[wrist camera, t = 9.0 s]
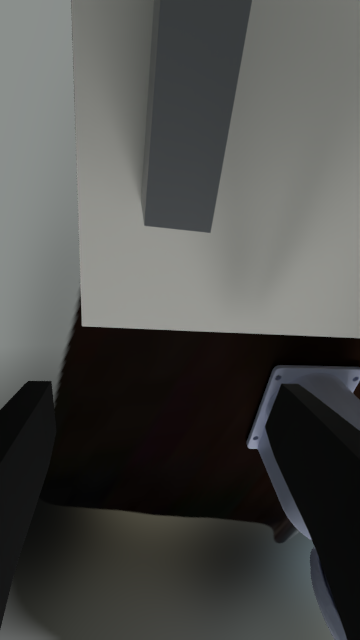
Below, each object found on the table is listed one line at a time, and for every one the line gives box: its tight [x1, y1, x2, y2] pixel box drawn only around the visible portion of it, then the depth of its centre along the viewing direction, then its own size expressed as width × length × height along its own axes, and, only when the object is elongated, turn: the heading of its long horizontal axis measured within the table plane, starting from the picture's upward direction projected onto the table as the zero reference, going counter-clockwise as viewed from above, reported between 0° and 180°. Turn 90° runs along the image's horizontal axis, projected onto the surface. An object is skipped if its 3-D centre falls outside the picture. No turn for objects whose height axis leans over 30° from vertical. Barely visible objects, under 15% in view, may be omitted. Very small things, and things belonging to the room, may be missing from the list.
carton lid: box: [71, 0, 360, 338], centre depth 8 cm, size 14×14×4 cm
